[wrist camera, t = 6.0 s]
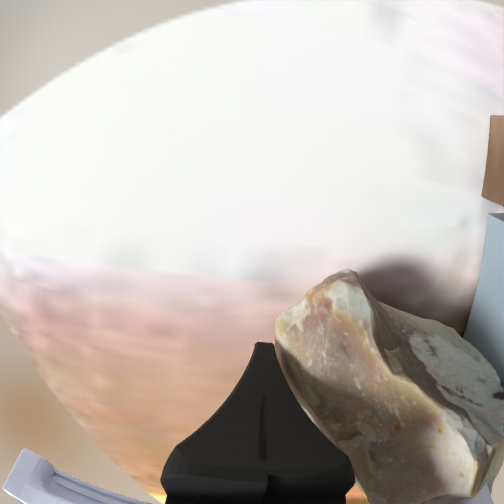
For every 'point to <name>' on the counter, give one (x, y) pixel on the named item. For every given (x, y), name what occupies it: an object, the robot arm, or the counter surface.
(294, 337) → the stone
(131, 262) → the counter surface
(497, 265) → the door
